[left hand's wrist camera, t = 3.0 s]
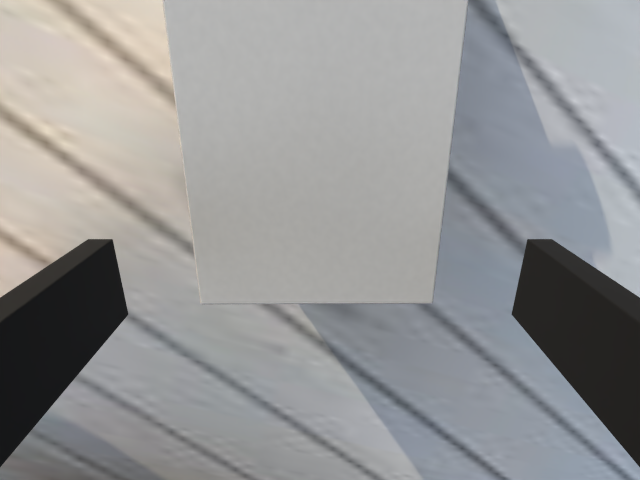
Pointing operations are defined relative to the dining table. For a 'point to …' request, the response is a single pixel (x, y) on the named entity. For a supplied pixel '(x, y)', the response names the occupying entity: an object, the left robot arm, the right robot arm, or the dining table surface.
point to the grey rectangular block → (316, 145)
